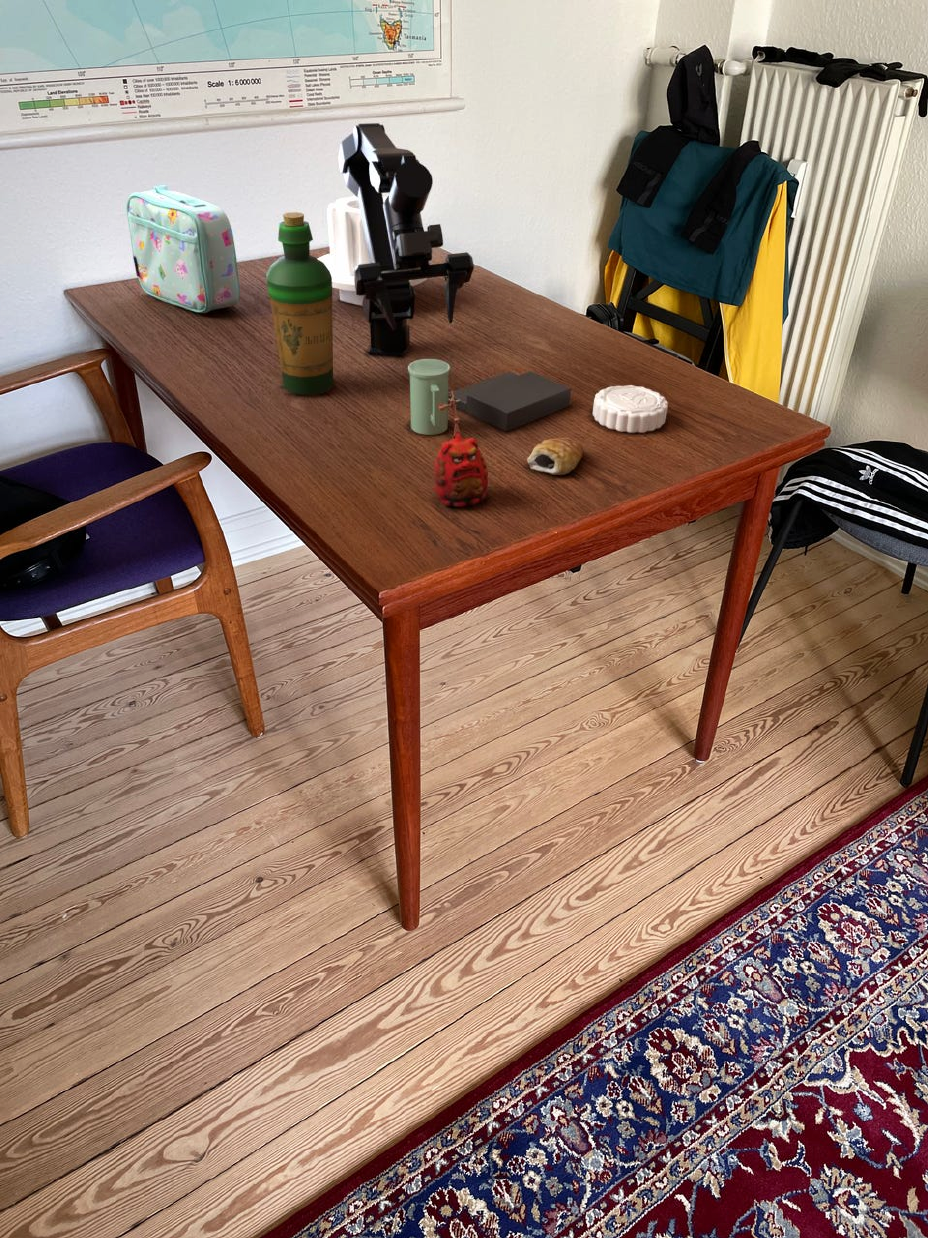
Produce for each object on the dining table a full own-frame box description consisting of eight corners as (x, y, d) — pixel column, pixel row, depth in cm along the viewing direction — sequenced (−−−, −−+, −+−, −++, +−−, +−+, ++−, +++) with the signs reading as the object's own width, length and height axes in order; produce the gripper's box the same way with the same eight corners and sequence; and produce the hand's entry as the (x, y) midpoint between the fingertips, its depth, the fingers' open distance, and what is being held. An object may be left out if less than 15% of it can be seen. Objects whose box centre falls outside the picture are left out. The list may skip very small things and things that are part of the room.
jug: (405, 419, 147) (404, 360, 141) (444, 416, 149) (444, 357, 142) (416, 443, 141) (415, 382, 134) (457, 439, 142) (458, 378, 136)
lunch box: (130, 292, 194) (108, 183, 180) (171, 281, 200) (152, 175, 187) (207, 323, 180) (189, 208, 167) (248, 310, 186) (234, 198, 173)
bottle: (289, 404, 151) (270, 226, 134) (269, 380, 158) (249, 210, 141) (349, 393, 155) (338, 219, 138) (326, 370, 162) (314, 203, 145)
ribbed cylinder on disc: (453, 294, 197) (454, 200, 185) (384, 327, 180) (380, 227, 168) (361, 273, 207) (356, 183, 195) (288, 303, 190) (278, 207, 179)
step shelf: (446, 402, 153) (446, 384, 151) (508, 379, 161) (509, 362, 159) (506, 431, 144) (507, 413, 142) (569, 406, 153) (571, 388, 151)
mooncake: (680, 423, 148) (684, 402, 146) (624, 439, 143) (627, 418, 141) (632, 396, 156) (635, 376, 154) (577, 411, 151) (579, 391, 149)
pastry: (555, 445, 141) (557, 422, 139) (593, 457, 138) (596, 434, 136) (523, 468, 135) (525, 444, 133) (562, 481, 132) (565, 458, 130)
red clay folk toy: (445, 514, 124) (446, 413, 115) (425, 491, 129) (424, 391, 120) (495, 503, 127) (499, 403, 117) (473, 480, 132) (476, 382, 122)
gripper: (348, 211, 135) (366, 313, 135) (469, 198, 138) (488, 298, 138) (347, 246, 146) (364, 340, 146) (459, 233, 149) (476, 326, 149)
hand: (423, 325), depth 144 cm, fingers open, 9 cm apart
